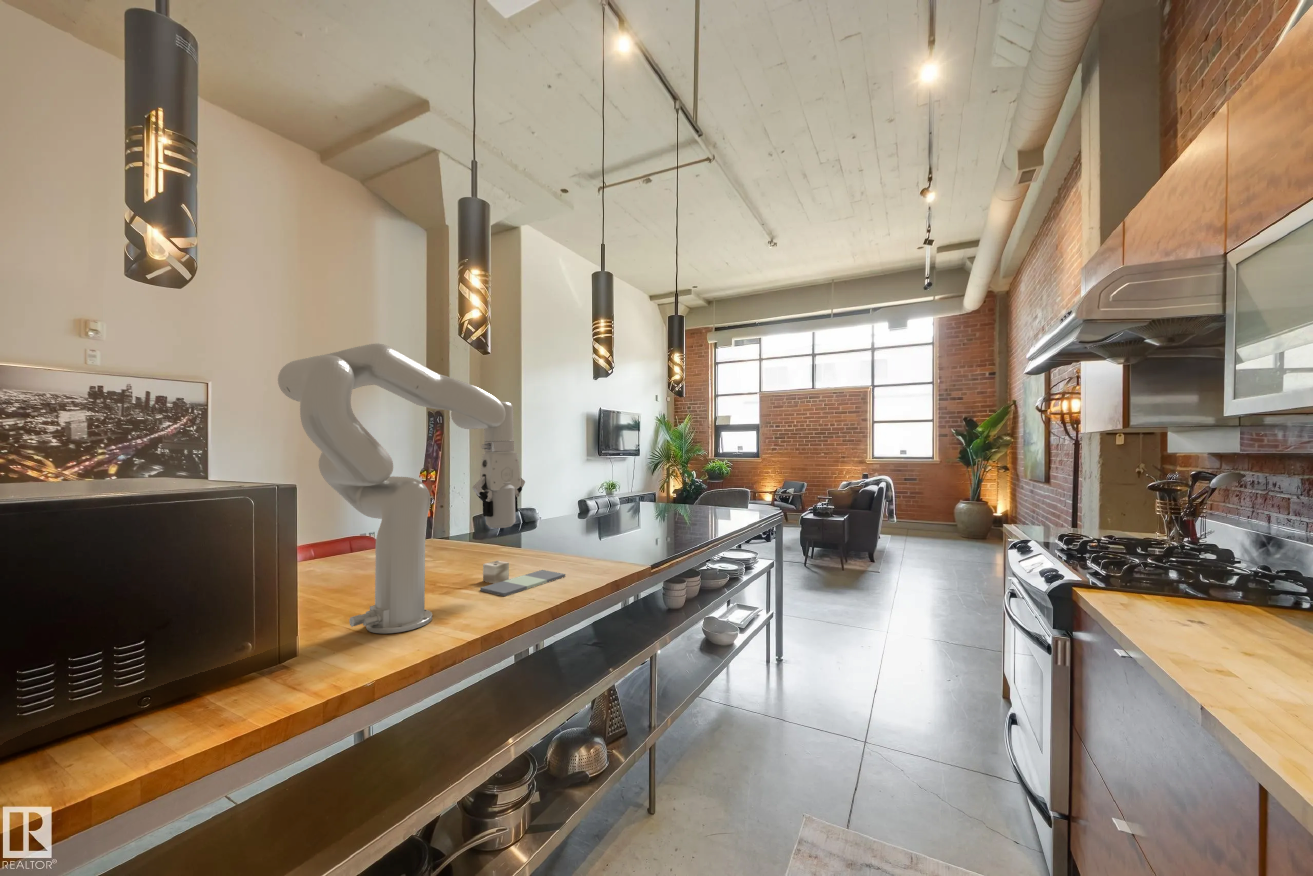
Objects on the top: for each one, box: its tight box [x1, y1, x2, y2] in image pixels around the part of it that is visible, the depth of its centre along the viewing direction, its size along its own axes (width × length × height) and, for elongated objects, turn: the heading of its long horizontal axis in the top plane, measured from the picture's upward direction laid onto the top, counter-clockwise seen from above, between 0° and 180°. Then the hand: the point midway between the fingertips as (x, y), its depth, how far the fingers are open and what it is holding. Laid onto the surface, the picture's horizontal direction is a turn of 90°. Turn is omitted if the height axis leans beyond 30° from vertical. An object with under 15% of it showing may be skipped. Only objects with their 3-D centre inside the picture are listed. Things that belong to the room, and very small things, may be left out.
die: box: [482, 560, 510, 584], centre depth 138 cm, size 5×5×5 cm
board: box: [479, 569, 566, 597], centre depth 135 cm, size 22×10×1 cm, turn 148°
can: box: [485, 482, 516, 529], centre depth 128 cm, size 8×8×12 cm
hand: (500, 513), depth 128 cm, fingers closed on can, 7 cm apart
